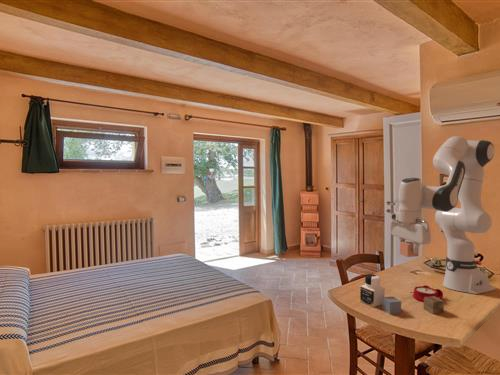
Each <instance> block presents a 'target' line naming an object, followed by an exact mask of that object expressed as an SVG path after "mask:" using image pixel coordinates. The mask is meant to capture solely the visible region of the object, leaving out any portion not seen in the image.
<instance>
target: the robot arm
mask: <svg viewBox="0 0 500 375" xmlns="http://www.w3.org/2000/svg"><path fill="white" fill-rule="evenodd" d="M494 155H495V146H494V144H493V142H492V141H490V140H489V141H488V140H485V139H482V140H478V139H477V140H473V139H471V140H470V139H469V140H467V139H466V138H464V137H463V136H459V135H455V136H451V137H449V138H447V140H445V141H444V142H443V143H442V144H441V146H439V148H438V149H437V151H436V152H435V153H434V156H433V158H432V165H433V167H434V168H435V170H436V171H437V172H439V173H440V174H441V175H445V176H448V178H447V181H446V184H444V185H441V186H437V185H436V186H435V185H433V186H432V185H425V184H423V183H422V179H421V178H418V177H408V178H404V179H402V180H401V181H400V182H399V187H398V188H399V189H398V202H399V203H398V204H399V206H398V210H397V212H394V213H391V214H390V219H391V220H390V233H391V236H394V237H398V239H399V243H400V242H406V240H408V241H409V242H413V244H414V246H413V248H411V251H412V252H414V253H417V252H418V247H420V246H421V245H429V244H430V243H431V242H432V240H431V239H432V237H431V229H430V225H429V223H428V222H427V220H424V219H423V209H427V210H434V211H435V210H436V212H435V214H434V220H435V223H436V224H437V225H438V226H439V227H440V228H441V230H442V232H443V233H444V236H445V239H446V244H447V245H446V247H447V248H446V250H447V253H446V255H447V256H446V257H445V272H444V278H443V280H442V286H443V287H445V288H446V289H450V290H452V291H456V292H460V293H462V292H463V293H468V294H474V295H478V294H483V293H488V292H492V291H495V290H496V287H494V286H493V285H491V284H490V280H489V276H488V275H487V274H486V273H484V272H483V271H482V270H480V269H479V268H478V266H482V264H483V262H482V261H481V260H475V248H476V247H475V244H474V242H473V241H472V240H470V239H469V237H468V236H467V235H466V233H471V234H472V233H473V234H485V233H487V232H488V231H489V230H490V229H491V227H492V224H493V220H492V217H491V215H490V214H489V213H488V212H487V211H486V210H485V209H484V207H483V205H482V199H481V197H482V196H481V195H482V188H483V182H484V173H485V168H484V167H485V166H486V165H487V164H489V163H491V161H492V160H493V158H494ZM458 201H459V202H460V203H459V204H460V207H456V206H457V204H458Z"/></svg>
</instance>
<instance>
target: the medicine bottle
mask: <svg viewBox="0 0 500 375" xmlns="http://www.w3.org/2000/svg"><path fill="white" fill-rule="evenodd" d="M385 290H386V289H385V287H383V286H381V277H380V276H379V275H376V274H372V273H369V274H366V275H365V277H364V284H363V285H360V295H359V297H360V298H359V301H360V303H363V304H366V306H367V305H368V306H370V307H372V308H376V307H380V306H382V297H386V295H385V294H386V293H385V292H386V291H385Z"/></svg>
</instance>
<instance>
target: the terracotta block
mask: <svg viewBox="0 0 500 375" xmlns="http://www.w3.org/2000/svg"><path fill="white" fill-rule="evenodd" d="M413 246H414V244H413V241H405V242H400V241H399V255H402V256H404V257H408V258H409V257H413V258H414V257H419V249H420V248H419V247H420V246H419V247H418V252H417V253H414V252H412V251H411V248H413Z"/></svg>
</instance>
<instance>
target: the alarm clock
mask: <svg viewBox="0 0 500 375" xmlns="http://www.w3.org/2000/svg"><path fill="white" fill-rule="evenodd" d="M443 292H444V291H442V290H441V289H439V288H432V287H430V286H429V285H426V284H425V285H421V286H418V285H417V286H415V287H414V289H413V292H412V291H410V294H411V293H413V294H412V298H413V299H415V300H417V301H418V302H423V303H424V297H432V296H435V297H437V298H439V299H442V298H444V293H443Z"/></svg>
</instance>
